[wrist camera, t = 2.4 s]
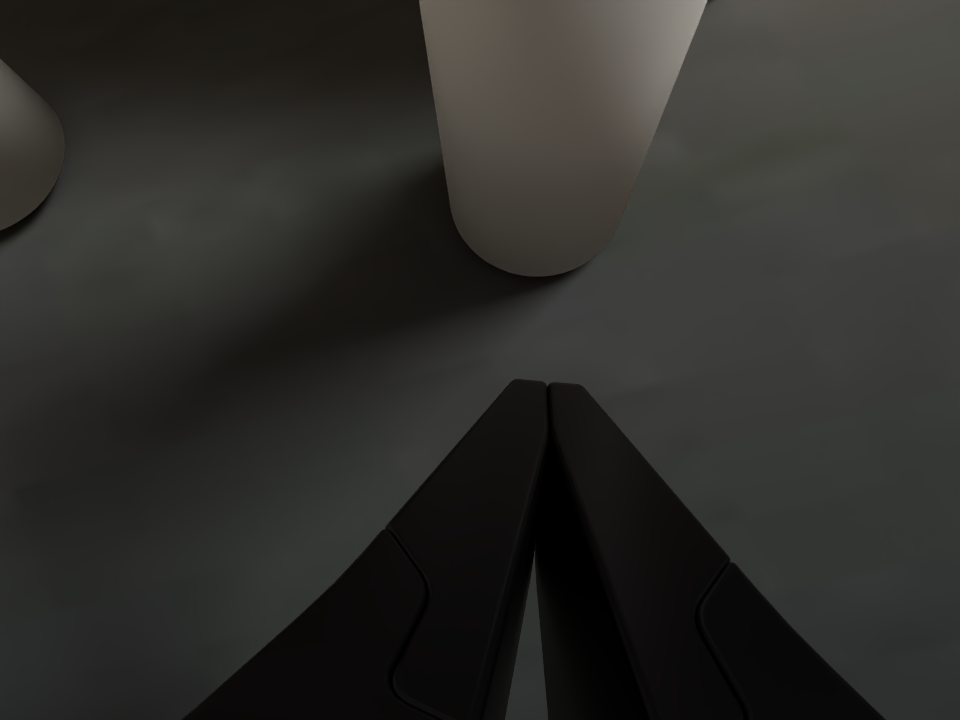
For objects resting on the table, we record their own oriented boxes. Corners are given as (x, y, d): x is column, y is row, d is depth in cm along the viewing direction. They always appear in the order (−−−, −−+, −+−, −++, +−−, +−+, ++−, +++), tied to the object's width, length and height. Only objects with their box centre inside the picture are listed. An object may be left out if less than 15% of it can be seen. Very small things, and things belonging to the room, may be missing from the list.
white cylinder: (636, 299, 17) (1055, -390, 4) (424, 284, 18) (209, -414, 5) (642, 107, 19) (988, -895, 5) (443, 96, 19) (315, -896, 6)
